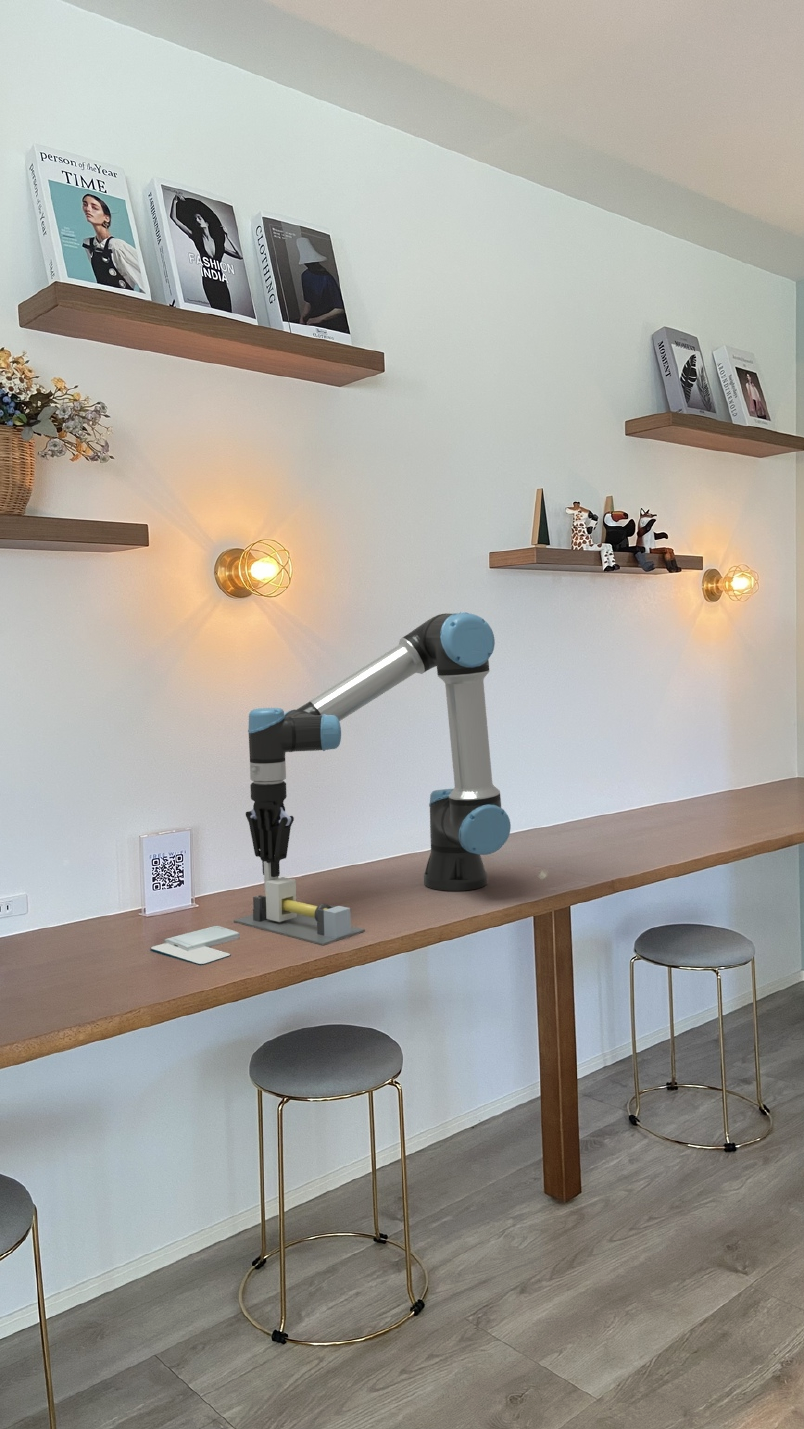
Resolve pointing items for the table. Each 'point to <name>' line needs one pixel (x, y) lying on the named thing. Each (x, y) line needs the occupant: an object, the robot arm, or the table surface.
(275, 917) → the sleeve
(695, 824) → the table surface
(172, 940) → the hard drive
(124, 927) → the table surface
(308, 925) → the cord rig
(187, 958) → the smartphone
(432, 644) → the robot arm
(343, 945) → the table surface
